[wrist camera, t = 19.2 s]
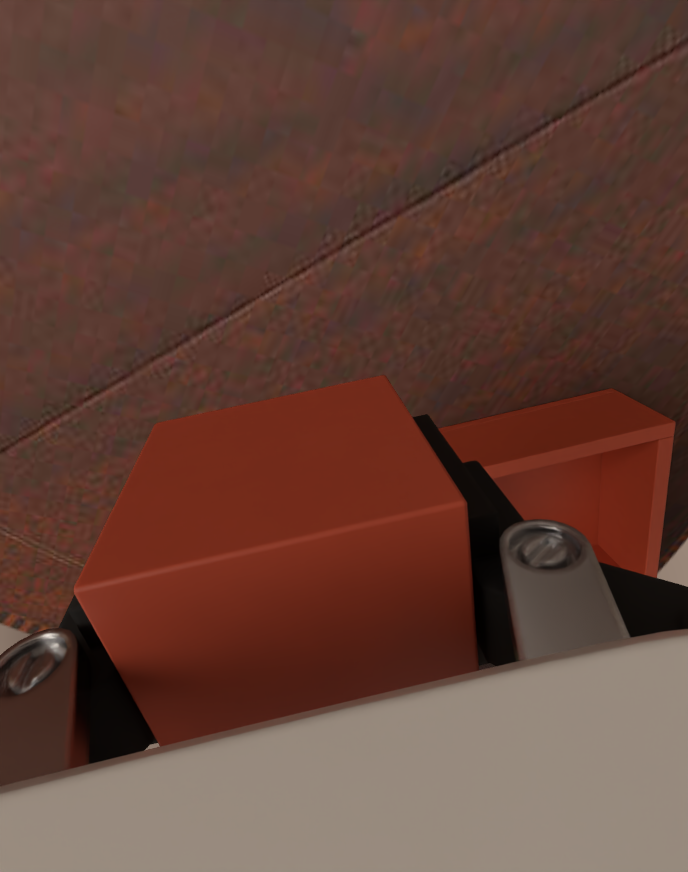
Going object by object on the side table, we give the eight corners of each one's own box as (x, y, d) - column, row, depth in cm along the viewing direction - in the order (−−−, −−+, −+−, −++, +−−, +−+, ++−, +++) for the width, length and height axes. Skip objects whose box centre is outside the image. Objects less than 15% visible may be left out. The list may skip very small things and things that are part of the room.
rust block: (154, 422, 10) (70, 590, 6) (385, 373, 11) (468, 500, 6) (221, 596, 13) (194, 812, 8) (410, 552, 13) (485, 740, 8)
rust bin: (417, 432, 28) (446, 476, 24) (612, 387, 29) (676, 421, 24) (438, 586, 33) (464, 646, 29) (603, 545, 34) (655, 598, 29)
